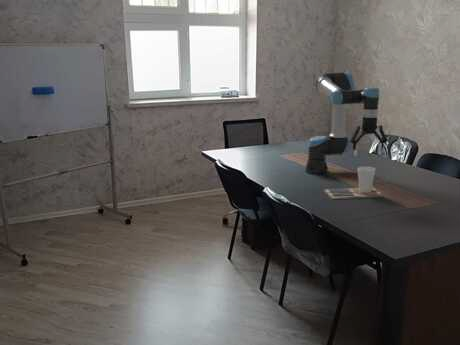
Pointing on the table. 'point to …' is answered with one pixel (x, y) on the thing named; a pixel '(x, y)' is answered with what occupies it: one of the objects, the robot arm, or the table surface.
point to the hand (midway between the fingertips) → (367, 155)
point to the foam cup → (365, 178)
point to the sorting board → (351, 193)
